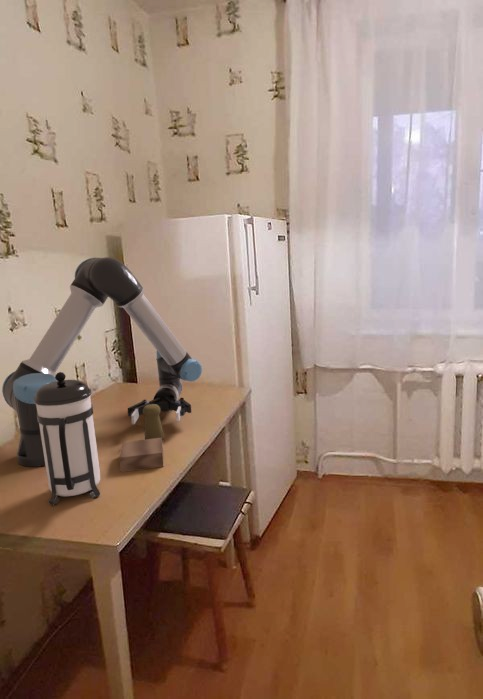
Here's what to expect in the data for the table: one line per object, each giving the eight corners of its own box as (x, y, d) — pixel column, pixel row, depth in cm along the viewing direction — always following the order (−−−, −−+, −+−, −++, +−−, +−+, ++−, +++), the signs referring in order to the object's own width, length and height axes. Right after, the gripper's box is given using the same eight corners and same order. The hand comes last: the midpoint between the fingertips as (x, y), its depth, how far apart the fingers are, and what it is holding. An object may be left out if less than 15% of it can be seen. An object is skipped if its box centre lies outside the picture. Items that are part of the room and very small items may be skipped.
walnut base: (120, 471, 132) (119, 457, 131) (123, 455, 142) (122, 442, 142) (163, 466, 133) (161, 452, 133) (163, 450, 144) (161, 437, 143)
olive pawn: (166, 435, 156) (163, 401, 153) (161, 443, 150) (158, 408, 147) (147, 436, 156) (144, 402, 154) (142, 443, 150) (138, 408, 148)
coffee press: (26, 499, 120) (7, 378, 114) (82, 473, 133) (67, 362, 127) (72, 518, 110) (53, 386, 104) (127, 487, 123) (113, 368, 117)
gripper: (203, 406, 174) (197, 428, 153) (131, 410, 174) (115, 432, 153) (201, 385, 172) (195, 404, 151) (129, 389, 173) (112, 409, 152)
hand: (155, 418), depth 152 cm, fingers open, 13 cm apart
